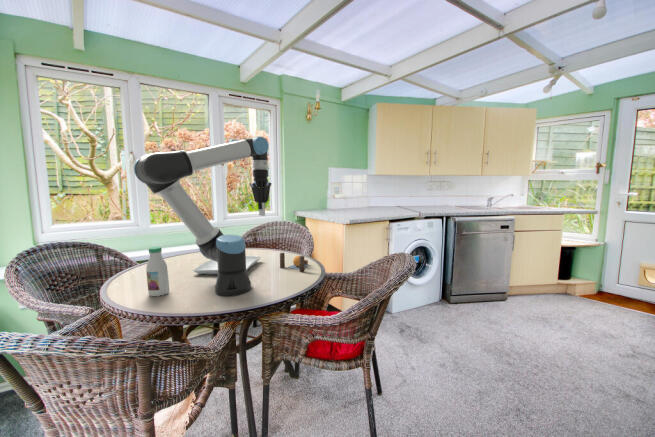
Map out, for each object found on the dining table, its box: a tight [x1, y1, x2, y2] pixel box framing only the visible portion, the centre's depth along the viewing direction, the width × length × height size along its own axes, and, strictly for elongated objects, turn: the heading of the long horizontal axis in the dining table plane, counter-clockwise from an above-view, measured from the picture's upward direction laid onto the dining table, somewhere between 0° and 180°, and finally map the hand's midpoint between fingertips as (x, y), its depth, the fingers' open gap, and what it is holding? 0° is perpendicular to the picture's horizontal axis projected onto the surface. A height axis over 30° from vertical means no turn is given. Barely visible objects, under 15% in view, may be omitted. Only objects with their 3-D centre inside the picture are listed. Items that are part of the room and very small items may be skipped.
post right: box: [298, 255, 306, 273], centre depth 151 cm, size 3×3×8 cm
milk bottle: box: [145, 246, 170, 297], centre depth 123 cm, size 8×8×20 cm
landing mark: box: [287, 264, 309, 271], centre depth 160 cm, size 8×8×1 cm
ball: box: [292, 255, 300, 267], centre depth 159 cm, size 6×6×6 cm
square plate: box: [192, 255, 262, 275], centre depth 158 cm, size 27×27×4 cm
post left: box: [279, 252, 286, 269], centre depth 158 cm, size 3×3×8 cm
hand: (262, 215), depth 150 cm, fingers closed
